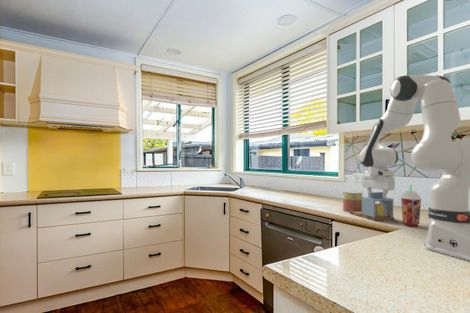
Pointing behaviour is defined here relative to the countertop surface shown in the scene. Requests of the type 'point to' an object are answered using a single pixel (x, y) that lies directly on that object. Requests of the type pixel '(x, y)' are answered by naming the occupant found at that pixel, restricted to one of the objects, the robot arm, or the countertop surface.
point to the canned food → (352, 201)
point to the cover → (369, 203)
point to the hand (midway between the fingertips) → (377, 196)
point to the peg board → (376, 218)
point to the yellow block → (379, 209)
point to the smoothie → (411, 208)
